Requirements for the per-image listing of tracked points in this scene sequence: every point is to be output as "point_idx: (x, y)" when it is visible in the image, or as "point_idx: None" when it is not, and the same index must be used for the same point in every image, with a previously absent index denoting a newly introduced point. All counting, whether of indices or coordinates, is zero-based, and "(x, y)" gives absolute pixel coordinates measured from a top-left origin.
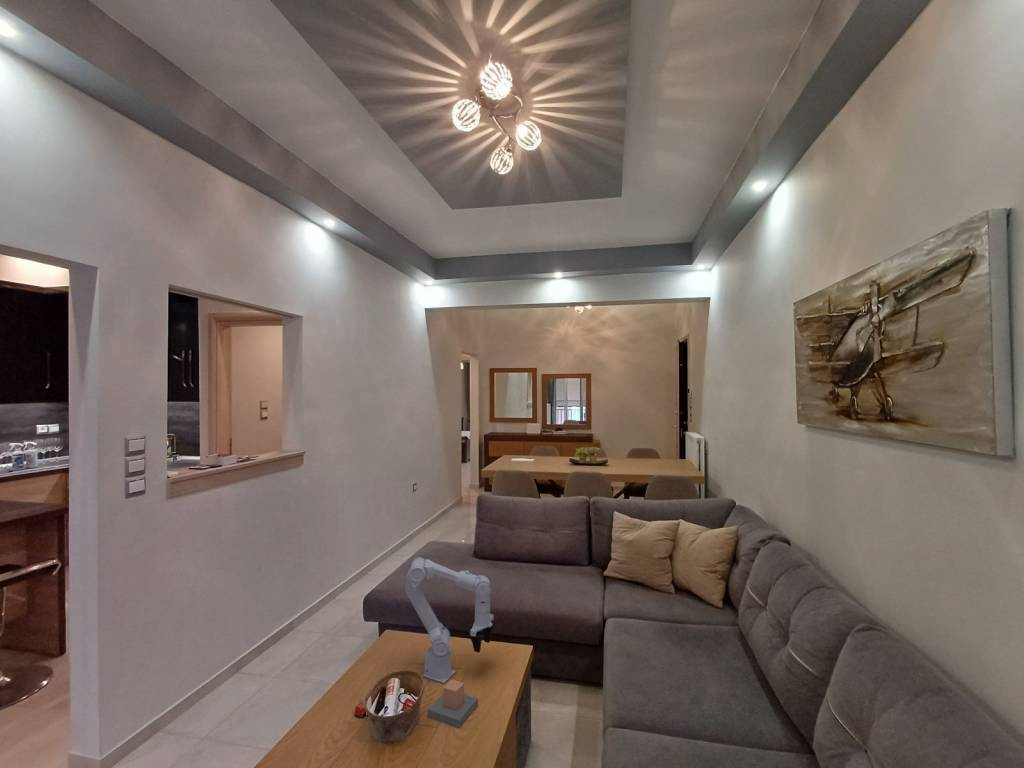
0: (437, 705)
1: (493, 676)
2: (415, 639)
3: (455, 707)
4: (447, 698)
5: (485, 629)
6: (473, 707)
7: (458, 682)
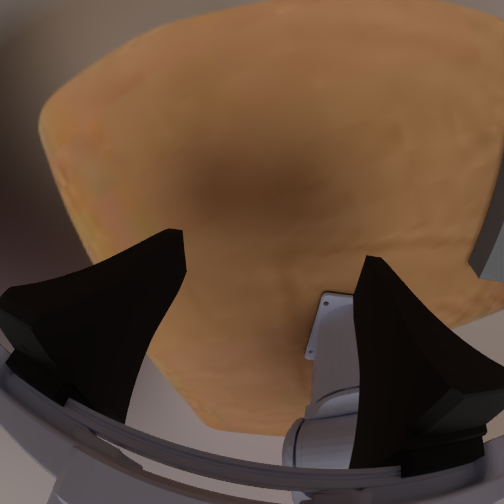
0: None
1: (293, 112)
2: (206, 404)
3: None
4: None
5: (128, 348)
6: None
7: None
